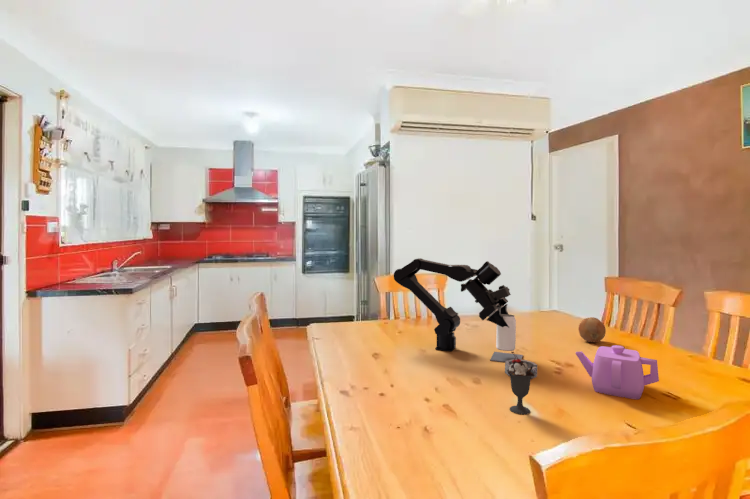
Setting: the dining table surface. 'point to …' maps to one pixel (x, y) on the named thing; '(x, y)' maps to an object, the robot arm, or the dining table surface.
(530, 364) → the holder
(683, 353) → the dining table surface
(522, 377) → the sundae
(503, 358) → the mat
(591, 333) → the coconut
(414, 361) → the dining table surface
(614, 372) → the teakettle
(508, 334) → the can
